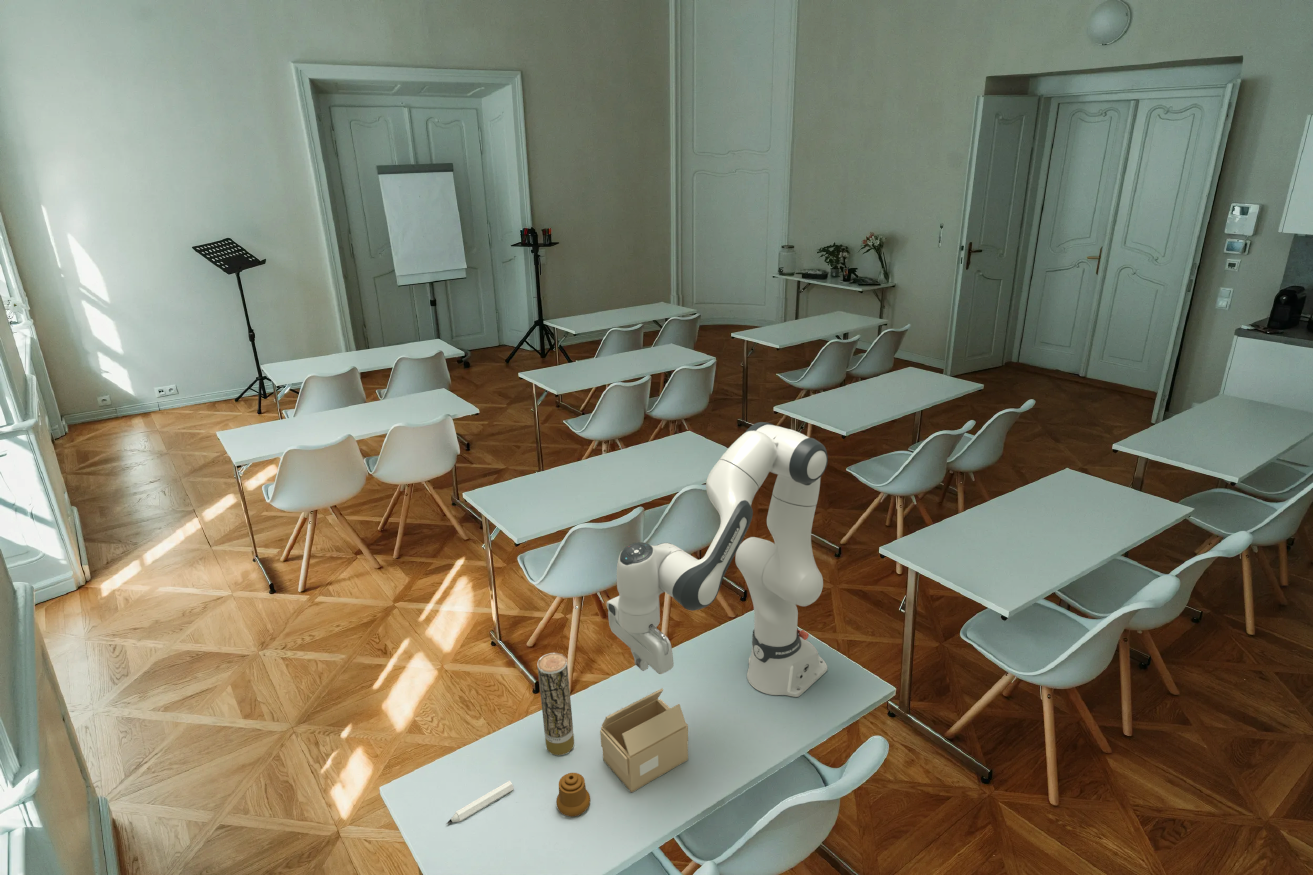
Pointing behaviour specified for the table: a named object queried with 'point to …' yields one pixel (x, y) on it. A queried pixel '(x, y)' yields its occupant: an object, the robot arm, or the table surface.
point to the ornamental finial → (572, 795)
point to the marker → (482, 802)
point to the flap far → (631, 707)
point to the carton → (649, 759)
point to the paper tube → (556, 703)
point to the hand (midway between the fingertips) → (641, 666)
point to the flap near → (654, 729)
